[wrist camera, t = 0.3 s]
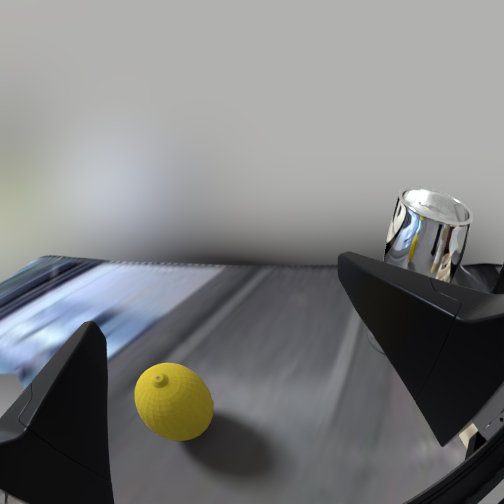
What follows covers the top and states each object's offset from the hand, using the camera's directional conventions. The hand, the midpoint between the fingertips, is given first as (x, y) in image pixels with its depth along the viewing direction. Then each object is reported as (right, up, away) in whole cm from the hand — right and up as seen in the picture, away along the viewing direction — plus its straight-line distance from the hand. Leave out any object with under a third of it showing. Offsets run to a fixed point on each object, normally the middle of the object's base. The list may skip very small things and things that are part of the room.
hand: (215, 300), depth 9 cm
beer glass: (+16, -7, +17) cm, 24 cm away
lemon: (-4, -13, +11) cm, 17 cm away
